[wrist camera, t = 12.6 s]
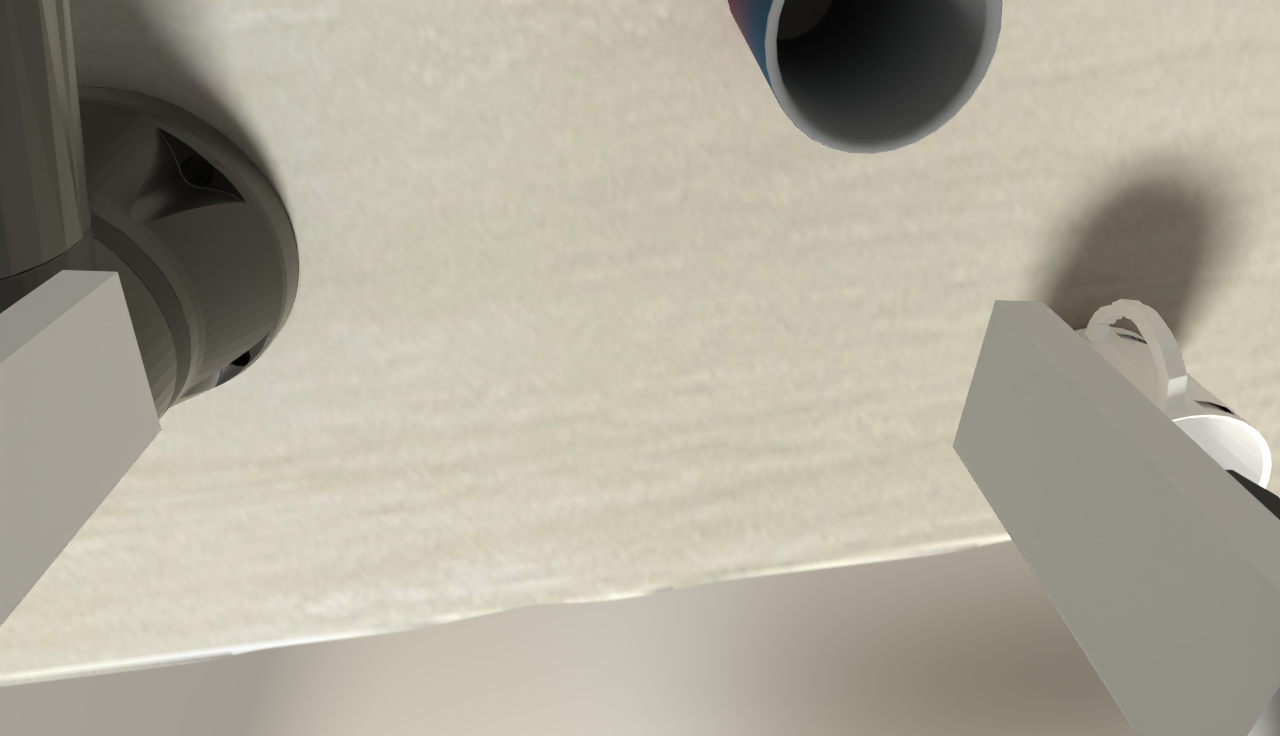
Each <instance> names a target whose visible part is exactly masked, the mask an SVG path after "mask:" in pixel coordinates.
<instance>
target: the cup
mask: <svg viewBox="0 0 1280 736" xmlns="http://www.w3.org/2000/svg"><path fill="white" fill-rule="evenodd" d="M728 3H729V6H730V10H731V13H732V15H733V17H734V19H735V21H736V23H737V24H738V26H739V28H740V30H741V32H742V34H743V36H744V38H745V40H746V42H747V44H748V45H749V47H750V49H751V51H752V53H753V55H754V57H755V59H756V61H757V63H758V64H759V66H760V68H761V70H762V72H763V74H764V76H765V78H766V80H767V82H768V84H769V85H770V87H771V89H772V91H773V93H774V95H775V97H776V99H777V101H778V103H779V104H780V106H781V108H782V110H783V111H784V112H785V113H786V115H787V116H788V117H789V118H790V120H791V121H792V122H793V123H794V125H795V126H796V127H798V128H799V129H800V130H801V131H803V132H804V133H805V134H806V135H808V136H809V137H810V138H811V139H813V140H815V141H817V142H819V143H821V144H823V145H826V146H828V147H830V148H833V149H837V150H841V151H845V152H849V153H868V154H873V153H879V152H886V151H892V150H896V149H899V148H901V147H904V146H907V145H910V144H913V143H915V142H917V141H919V140H921V139H923V138H924V137H926V136H928V135H930V134H931V133H933V132H935V131H936V130H938V129H939V128H940V127H941V126H943V125H944V124H945V123H946V122H948V121H949V120H950V119H951V118H953V117H954V116H955V115H956V114H957V113H958V111H959V110H960V109H961V108H962V107H963V106H964V105H965V104H966V103H967V101H968V100H969V99H970V98H971V97H972V95H973V94H974V92H975V90H976V89H977V87H978V86H979V84H980V83H981V81H982V80H983V78H984V76H985V74H986V72H987V70H988V67H989V65H990V63H991V60H992V58H993V56H994V53H995V50H996V46H997V41H998V37H999V33H1000V29H1001V16H1002V0H728Z"/></svg>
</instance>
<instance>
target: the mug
mask: <svg viewBox="0 0 1280 736" xmlns="http://www.w3.org/2000/svg"><path fill="white" fill-rule="evenodd" d="M1123 316H1124V317H1125V318H1127V319H1131V320H1132V321H1133V322H1134V323H1135V324H1136V326H1137V328H1138V330H1139V331H1140V333H1141V334H1142V336H1143V337H1141V336H1140V335H1138V334H1136V333H1134V332H1131V331H1129V330H1126V329H1123V328H1116V327H1110V324H1114V323H1115V322H1116V320H1117V319H1122V317H1123ZM1074 331H1075V332H1076V333H1078V334H1079V335H1080V336H1081V337H1082V338H1083V339H1084V340H1085V341H1086V342H1087V343H1088V344H1089V345H1091V346H1092V347H1093V348H1094V349H1095V350H1096V351H1097V352H1098V353H1099V354H1100V355H1101V356H1102V357H1104V358H1105V359H1106V360H1107V361H1108V362H1109V363H1110V364H1111V365H1112V366H1113V367H1114V368H1115V369H1117V370H1118V371H1119V372H1120V373H1121V374H1122V375H1123V376H1124V377H1125V378H1126V379H1127V380H1128V381H1130V382H1131V383H1132V384H1133V385H1134V386H1135V387H1136V388H1137V389H1138V390H1139V391H1140V392H1141V393H1143V394H1144V395H1145V396H1146V397H1147V398H1148V399H1149V400H1150V401H1151V402H1152V403H1153V404H1154V405H1156V406H1157V407H1158V408H1159V409H1160V410H1161V411H1162V412H1163V413H1164V414H1165V415H1166V416H1167V417H1169V418H1170V419H1171V420H1172V421H1173V422H1174V423H1175V424H1176V425H1177V426H1178V427H1179V428H1180V429H1182V430H1183V431H1184V432H1185V433H1186V434H1187V435H1188V436H1189V437H1190V438H1191V439H1192V440H1193V441H1195V442H1196V443H1197V444H1198V445H1199V446H1200V447H1201V448H1202V449H1203V450H1204V451H1205V452H1206V453H1208V454H1209V455H1210V456H1211V457H1212V458H1213V459H1214V460H1215V461H1216V462H1217V463H1218V464H1219V465H1221V466H1222V467H1223V468H1224V469H1225V470H1234V471H1235V472H1237V473H1239V474H1241V475H1242V476H1244V477H1246V478H1247V479H1249V480H1251V481H1252V482H1254V483H1256V484H1258V485H1259V486H1261V487H1263V488H1264V489H1266V486H1267V484H1268V482H1269V478H1270V472H1271V466H1272V465H1271V455H1270V451H1269V448H1268V446H1267V443H1266V441H1265V439H1264V438H1263V437H1262V436H1261V435H1260V434H1259V432H1258V431H1257V430H1256V429H1255V428H1253V427H1252V426H1251V425H1250V424H1249V423H1247V422H1246V421H1245V420H1244V419H1242V418H1241V417H1240V416H1239V415H1238V414H1236V413H1235V412H1234V411H1233V410H1231V409H1230V408H1229V407H1228V406H1227V405H1225V404H1224V403H1223V402H1222V401H1220V400H1219V399H1218V398H1217V397H1216V396H1214V395H1213V394H1212V393H1211V392H1209V391H1208V390H1207V389H1206V388H1205V387H1203V386H1202V385H1201V384H1200V383H1198V382H1197V381H1196V380H1195V379H1194V378H1192V377H1191V376H1190V375H1189V374H1187V372H1186V369H1185V365H1184V362H1183V359H1182V356H1181V352H1180V349H1179V346H1178V344H1177V342H1176V340H1175V338H1174V336H1173V334H1172V332H1171V330H1170V329H1169V328H1168V326H1167V325H1166V323H1165V322H1164V320H1163V319H1162V318H1161V317H1160V315H1159V314H1158V313H1157V312H1156V311H1155V310H1154V309H1152V308H1151V307H1149V306H1148V305H1144V304H1142V303H1141V302H1140V301H1139V300H1129V299H1119V300H1118V301H1116V302H1112V305H1107V306H1103V307H1100V308H1099V310H1098V311H1096V312H1095V313H1094V314H1093V316H1092V318H1091V319H1090V321H1089V323H1088V325H1087V328H1083V329H1079V330H1074Z"/></svg>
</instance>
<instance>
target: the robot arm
mask: <svg viewBox="0 0 1280 736" xmlns="http://www.w3.org/2000/svg"><path fill="white" fill-rule="evenodd" d="M298 276H299V265H298V254H297V248H296V243H295V238H294V235H293V231H292V228H291V225H290V222H289V220H288V217H287V215H286V213H285V210H284V208H283V206H282V204H281V202H280V200H279V199H278V197H277V195H276V193H275V192H274V190H273V189H272V187H271V185H270V184H269V183H268V181H267V180H266V178H265V177H264V176H263V174H262V173H261V172H260V171H259V169H258V168H257V167H256V166H255V165H254V164H253V162H252V161H251V160H250V159H249V158H248V157H247V156H246V155H245V154H244V153H243V152H242V151H241V150H240V149H239V148H238V147H237V146H236V145H234V144H233V143H232V142H231V141H230V140H229V139H227V138H226V137H225V136H224V135H222V134H221V133H220V132H218V131H217V130H216V129H214V128H213V127H211V126H210V125H208V124H207V123H205V122H204V121H202V120H201V119H199V118H197V117H195V116H194V115H192V114H190V113H188V112H186V111H184V110H182V109H180V108H178V107H176V106H174V105H171V104H169V103H167V102H164V101H161V100H158V99H156V98H153V97H149V96H146V95H143V94H139V93H134V92H130V91H125V90H118V89H110V88H77V77H76V67H75V56H74V46H73V36H72V25H71V15H70V4H69V0H0V626H1V625H2V624H3V623H4V621H5V620H6V619H7V618H8V617H9V615H10V614H11V613H12V612H13V610H14V609H15V608H16V607H17V606H18V604H19V603H20V602H21V601H22V599H23V598H24V597H25V596H26V595H27V593H28V592H29V591H30V590H31V588H32V587H33V586H34V585H35V584H36V582H37V581H38V580H39V579H40V577H41V576H42V575H43V574H44V573H45V571H46V570H47V569H48V568H49V566H50V565H51V564H52V563H53V562H54V560H55V559H56V558H57V557H58V555H59V554H60V553H61V552H62V551H63V549H64V548H65V547H66V546H67V544H68V543H69V542H70V541H71V540H72V538H73V537H74V536H75V535H76V533H77V532H78V531H79V530H80V529H81V527H82V526H83V525H84V524H85V522H86V521H87V520H88V519H89V518H90V516H91V515H92V514H93V513H94V511H95V510H96V509H97V508H98V507H99V505H100V504H101V503H102V502H103V500H104V499H105V498H106V497H107V496H108V494H109V493H110V492H111V491H112V489H113V488H114V487H115V486H116V485H117V483H118V482H119V481H120V480H121V478H122V477H123V476H124V475H125V474H126V472H127V471H128V470H129V469H130V467H131V466H132V465H133V464H134V463H135V461H136V460H137V459H138V458H139V456H140V455H141V454H142V453H143V452H144V450H145V449H146V448H147V447H148V445H149V444H150V443H151V442H152V441H153V439H154V438H155V437H156V436H157V434H158V433H159V432H160V431H161V426H160V423H159V419H160V418H161V417H162V416H163V414H164V413H165V412H166V411H167V410H168V408H170V407H172V406H174V405H176V404H179V403H181V402H183V401H185V400H187V399H190V398H192V397H194V396H196V395H199V394H201V393H203V392H205V391H208V390H210V389H212V388H214V387H216V386H219V385H221V384H223V383H225V382H227V381H229V380H231V379H232V378H234V377H236V376H237V375H239V374H240V373H242V372H243V371H244V370H246V369H247V368H248V367H249V366H251V365H252V364H253V363H254V362H255V361H256V360H257V359H258V358H259V357H260V356H261V355H262V354H263V353H264V351H265V350H266V349H267V348H268V346H269V345H270V344H271V342H272V341H273V340H274V338H275V337H276V336H277V334H278V333H279V331H280V330H281V329H282V327H283V326H284V324H285V322H286V320H287V318H288V317H289V314H290V312H291V310H292V307H293V304H294V301H295V297H296V293H297V286H298ZM953 447H954V449H955V451H956V452H957V454H958V455H959V457H960V458H961V460H962V462H963V463H964V465H965V466H966V468H967V469H968V471H969V473H970V474H971V476H972V477H973V479H974V480H975V482H976V484H977V485H978V487H979V488H980V490H981V491H982V493H983V495H984V496H985V498H986V499H987V501H988V502H989V504H990V506H991V507H992V509H993V510H994V512H995V513H996V515H997V517H998V518H999V520H1000V521H1001V523H1002V524H1003V526H1004V528H1005V529H1006V531H1007V532H1008V534H1009V535H1010V537H1011V539H1012V540H1013V542H1014V543H1015V545H1016V546H1017V548H1018V550H1019V551H1020V553H1021V554H1022V556H1023V557H1024V559H1025V561H1026V562H1027V564H1028V565H1029V567H1030V568H1031V570H1032V572H1033V573H1034V575H1035V576H1036V578H1037V579H1038V581H1039V583H1040V584H1041V585H1042V587H1043V589H1044V590H1045V592H1046V594H1047V595H1048V596H1049V598H1050V600H1051V601H1052V603H1053V604H1054V606H1055V608H1056V609H1057V611H1058V612H1059V614H1060V615H1061V617H1062V619H1063V620H1064V622H1065V623H1066V625H1067V627H1068V628H1069V630H1070V631H1071V633H1072V634H1073V636H1074V637H1075V639H1076V641H1077V642H1078V644H1079V645H1080V647H1081V648H1082V650H1083V651H1084V653H1085V655H1086V656H1087V658H1088V659H1089V661H1090V662H1091V664H1092V666H1093V667H1094V669H1095V670H1096V672H1097V674H1098V675H1099V677H1100V678H1101V680H1102V681H1103V683H1104V684H1105V686H1106V688H1107V689H1108V691H1109V692H1110V694H1111V696H1112V697H1113V699H1114V700H1115V702H1116V703H1117V705H1118V707H1119V708H1120V710H1121V711H1122V713H1123V714H1124V716H1125V718H1126V719H1127V721H1128V722H1129V724H1130V725H1131V727H1132V728H1133V730H1134V732H1135V733H1136V735H1137V736H1280V498H1279V497H1278V496H1276V495H1275V494H1273V493H1271V492H1270V491H1268V490H1266V489H1264V488H1263V487H1261V486H1259V485H1258V484H1256V483H1254V482H1252V481H1251V480H1249V479H1247V478H1246V477H1244V476H1242V475H1241V474H1239V473H1237V472H1235V471H1234V470H1225V469H1224V468H1223V467H1222V466H1221V465H1219V464H1218V463H1217V462H1216V461H1215V460H1214V459H1213V458H1212V457H1211V456H1210V455H1209V454H1208V453H1206V452H1205V451H1204V450H1203V449H1202V448H1201V447H1200V446H1199V445H1198V444H1197V443H1196V442H1195V441H1193V440H1192V439H1191V438H1190V437H1189V436H1188V435H1187V434H1186V433H1185V432H1184V431H1183V430H1182V429H1180V428H1179V427H1178V426H1177V425H1176V424H1175V423H1174V422H1173V421H1172V420H1171V419H1170V418H1169V417H1167V416H1166V415H1165V414H1164V413H1163V412H1162V411H1161V410H1160V409H1159V408H1158V407H1157V406H1156V405H1154V404H1153V403H1152V402H1151V401H1150V400H1149V399H1148V398H1147V397H1146V396H1145V395H1144V394H1143V393H1141V392H1140V391H1139V390H1138V389H1137V388H1136V387H1135V386H1134V385H1133V384H1132V383H1131V382H1130V381H1128V380H1127V379H1126V378H1125V377H1124V376H1123V375H1122V374H1121V373H1120V372H1119V371H1118V370H1117V369H1115V368H1114V367H1113V366H1112V365H1111V364H1110V363H1109V362H1108V361H1107V360H1106V359H1105V358H1104V357H1102V356H1101V355H1100V354H1099V353H1098V352H1097V351H1096V350H1095V349H1094V348H1093V347H1092V346H1091V345H1089V344H1088V343H1087V342H1086V341H1085V340H1084V339H1083V338H1082V337H1081V336H1080V335H1079V334H1078V333H1076V332H1075V331H1074V330H1073V329H1072V328H1071V327H1070V326H1069V325H1068V324H1067V323H1066V322H1065V321H1063V320H1062V319H1061V318H1060V317H1059V316H1058V315H1057V314H1056V313H1055V312H1054V311H1053V310H1052V309H1050V308H1049V307H1048V306H1047V305H1046V304H1045V303H1044V302H1034V301H1003V300H995V303H994V307H993V310H992V314H991V317H990V321H989V324H988V327H987V331H986V334H985V338H984V341H983V344H982V348H981V351H980V355H979V358H978V362H977V365H976V368H975V372H974V375H973V379H972V382H971V385H970V389H969V392H968V396H967V399H966V403H965V406H964V409H963V413H962V416H961V420H960V423H959V426H958V430H957V433H956V437H955V440H954V443H953Z"/></svg>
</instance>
